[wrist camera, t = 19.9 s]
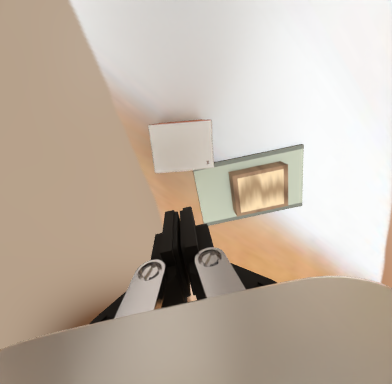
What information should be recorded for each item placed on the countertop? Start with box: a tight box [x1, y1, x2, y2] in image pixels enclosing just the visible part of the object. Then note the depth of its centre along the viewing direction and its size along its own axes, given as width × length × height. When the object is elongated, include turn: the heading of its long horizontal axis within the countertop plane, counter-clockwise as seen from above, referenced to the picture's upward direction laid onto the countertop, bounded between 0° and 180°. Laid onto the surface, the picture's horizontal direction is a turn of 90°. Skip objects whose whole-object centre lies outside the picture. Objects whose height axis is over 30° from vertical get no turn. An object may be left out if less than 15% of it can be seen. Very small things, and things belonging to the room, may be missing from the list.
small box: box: [148, 120, 214, 173], centre depth 30 cm, size 8×6×13 cm
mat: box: [193, 144, 304, 226], centre depth 41 cm, size 14×23×1 cm, turn 101°
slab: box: [228, 161, 288, 217], centre depth 39 cm, size 9×3×11 cm
